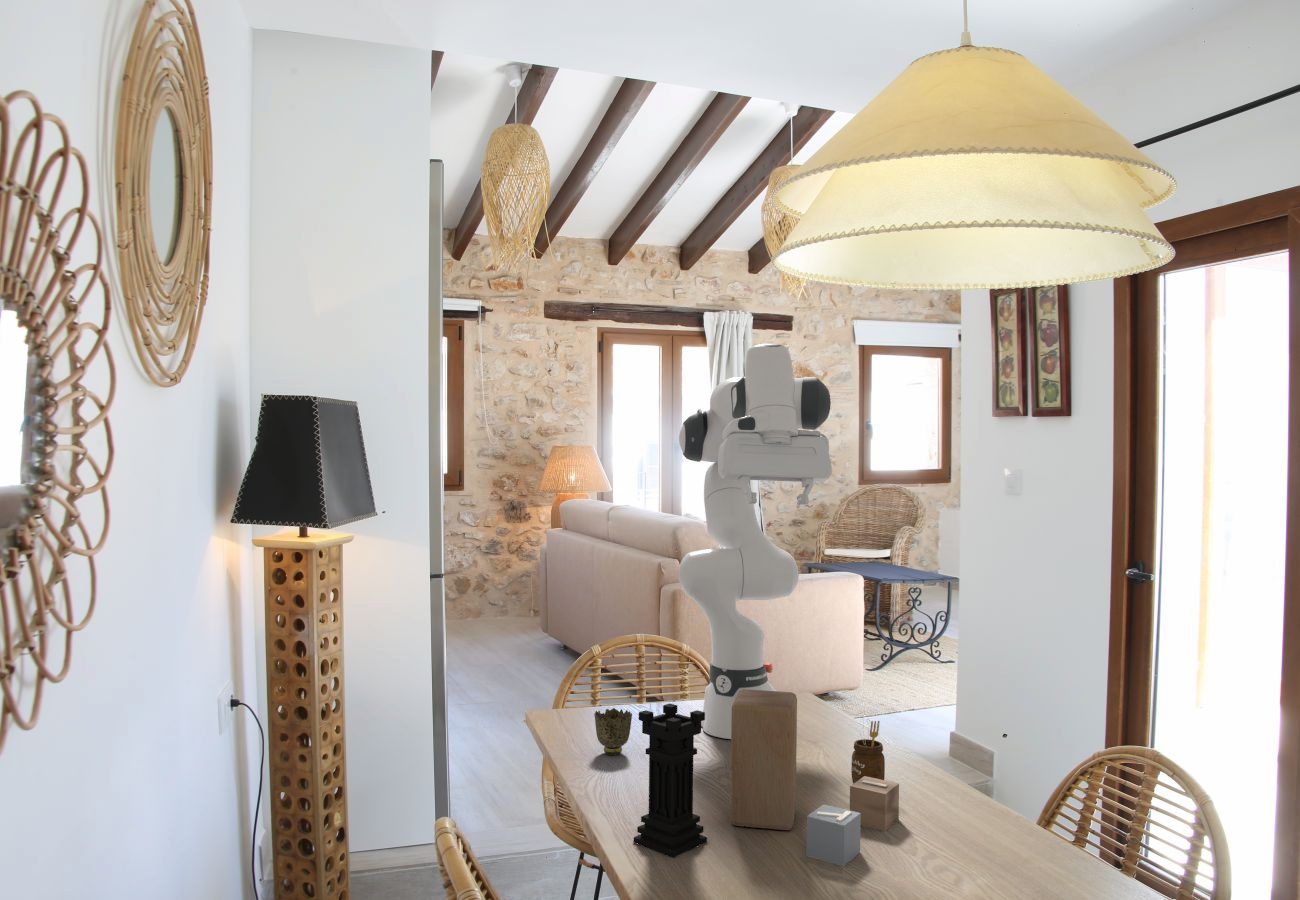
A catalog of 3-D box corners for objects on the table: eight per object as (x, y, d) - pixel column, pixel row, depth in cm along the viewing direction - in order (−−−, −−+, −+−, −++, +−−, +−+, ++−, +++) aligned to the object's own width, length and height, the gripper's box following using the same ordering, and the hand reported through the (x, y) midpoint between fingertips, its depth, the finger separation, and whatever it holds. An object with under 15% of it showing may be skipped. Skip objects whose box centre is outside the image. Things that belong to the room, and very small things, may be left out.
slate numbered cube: (823, 843, 150) (823, 802, 150) (860, 852, 146) (860, 811, 146) (806, 856, 145) (806, 814, 145) (843, 866, 141) (844, 823, 141)
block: (792, 833, 153) (794, 706, 153) (729, 827, 155) (731, 702, 155) (796, 810, 163) (797, 691, 163) (736, 805, 165) (737, 687, 165)
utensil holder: (876, 775, 181) (877, 710, 181) (890, 787, 174) (891, 720, 174) (846, 776, 180) (847, 711, 180) (859, 788, 173) (859, 721, 173)
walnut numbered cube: (864, 811, 163) (864, 774, 163) (898, 819, 159) (899, 781, 159) (849, 822, 158) (850, 784, 158) (884, 831, 154) (885, 792, 154)
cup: (619, 745, 197) (619, 706, 197) (638, 755, 191) (639, 714, 191) (587, 751, 193) (587, 711, 193) (606, 761, 187) (606, 720, 186)
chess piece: (633, 842, 149) (635, 712, 149) (668, 827, 155) (669, 702, 155) (672, 858, 143) (674, 722, 143) (707, 842, 149) (708, 712, 149)
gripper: (821, 436, 178) (826, 510, 174) (713, 431, 174) (716, 507, 170) (834, 426, 172) (840, 501, 168) (723, 420, 168) (726, 498, 164)
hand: (777, 504), depth 169 cm, fingers open, 8 cm apart
